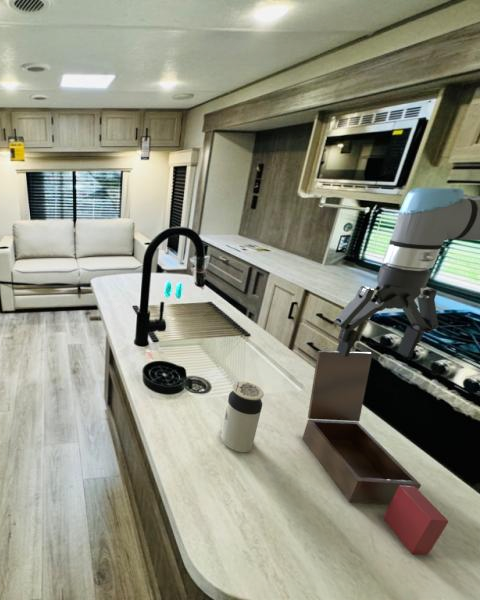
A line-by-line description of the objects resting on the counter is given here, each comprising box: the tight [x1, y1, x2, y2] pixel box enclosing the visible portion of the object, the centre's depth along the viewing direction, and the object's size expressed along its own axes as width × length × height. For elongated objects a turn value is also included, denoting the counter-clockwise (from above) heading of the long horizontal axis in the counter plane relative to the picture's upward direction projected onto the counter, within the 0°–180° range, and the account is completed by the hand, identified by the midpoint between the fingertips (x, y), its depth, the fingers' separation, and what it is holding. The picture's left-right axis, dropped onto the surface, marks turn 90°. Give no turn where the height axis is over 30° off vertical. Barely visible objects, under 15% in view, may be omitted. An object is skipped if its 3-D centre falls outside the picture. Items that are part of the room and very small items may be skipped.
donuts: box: [164, 280, 184, 299], centre depth 192 cm, size 10×10×10 cm
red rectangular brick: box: [382, 486, 450, 556], centre depth 63 cm, size 3×7×10 cm, turn 175°
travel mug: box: [220, 380, 265, 453], centre depth 85 cm, size 8×8×18 cm
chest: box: [302, 419, 422, 506], centre depth 78 cm, size 19×13×7 cm
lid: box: [307, 350, 373, 422], centre depth 86 cm, size 20×13×6 cm
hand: (372, 354), depth 73 cm, fingers open, 13 cm apart
